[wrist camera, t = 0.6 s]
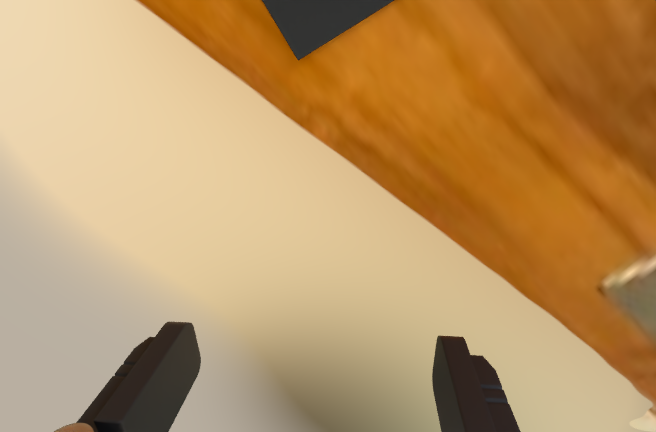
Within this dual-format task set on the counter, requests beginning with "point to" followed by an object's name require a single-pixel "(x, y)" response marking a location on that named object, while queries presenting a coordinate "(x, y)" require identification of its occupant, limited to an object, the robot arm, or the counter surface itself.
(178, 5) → the counter surface
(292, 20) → the mat
